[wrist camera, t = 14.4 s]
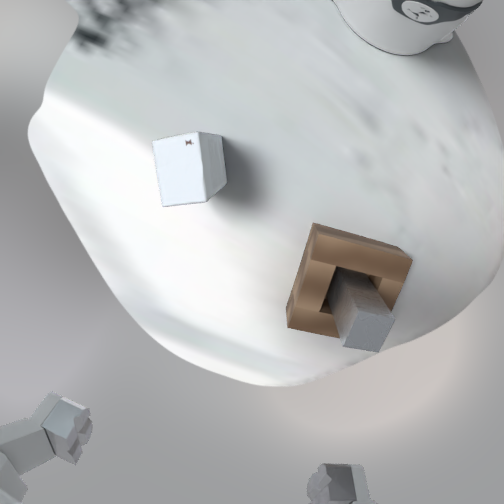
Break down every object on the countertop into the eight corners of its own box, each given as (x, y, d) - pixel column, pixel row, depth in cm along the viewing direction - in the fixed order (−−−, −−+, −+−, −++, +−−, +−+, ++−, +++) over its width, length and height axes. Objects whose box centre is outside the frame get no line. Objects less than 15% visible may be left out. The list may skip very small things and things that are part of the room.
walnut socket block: (312, 222, 38) (318, 233, 33) (397, 247, 38) (412, 260, 33) (286, 307, 42) (287, 327, 37) (365, 324, 42) (375, 344, 37)
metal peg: (334, 263, 38) (358, 311, 27) (363, 270, 38) (395, 318, 27) (324, 291, 39) (342, 346, 28) (352, 298, 39) (378, 352, 28)
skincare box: (187, 140, 35) (150, 138, 24) (222, 134, 35) (199, 129, 24) (193, 189, 37) (160, 208, 26) (228, 185, 37) (209, 202, 25)
